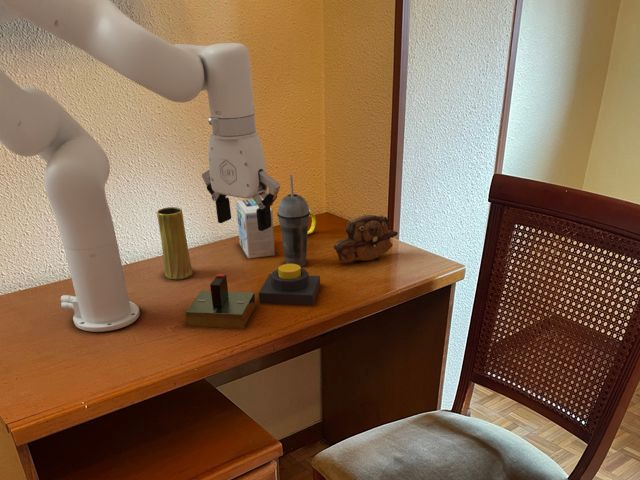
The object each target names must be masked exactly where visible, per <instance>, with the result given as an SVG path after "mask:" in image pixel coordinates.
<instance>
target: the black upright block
mask: <svg viewBox="0 0 640 480" xmlns="http://www.w3.org/2000/svg"><path fill="white" fill-rule="evenodd" d="M227 278H228V277H227V274H226V273H217V274H216V276H215V277H214V279H213V280H212V282H211V283H210V284H209V286H210V291H211V296H212V304H213V307H222V306H223V304H224V303H225V301H226V300H227V298H228V292H229V288H228V279H227Z"/></svg>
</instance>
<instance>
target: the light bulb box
mask: <svg viewBox="0 0 640 480" xmlns="http://www.w3.org/2000/svg"><path fill="white" fill-rule="evenodd" d="M261 199H262V200H263V198H262V197H261ZM235 205H236V216H237V226H238V228H237V229H238V240H239V245H240V247H241V248H242V250H243V253H244V254H245V255H246V257H247V258H248V259H255V258H263V257H271V256H275V255H276V253H275V252H276V251H275V238H274V237H275V236H274V234H275V233H274V218H273V215H274V214H273V209H272V208H271V207H270V211H271V227H270V228H268V229H266V230H264V231H259V230H258V222H257V212H256V210H257V209H258V208H259V207H258V205H257V204H256V202H255V201H254V199H253V198H248V199H242V200H235Z"/></svg>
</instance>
